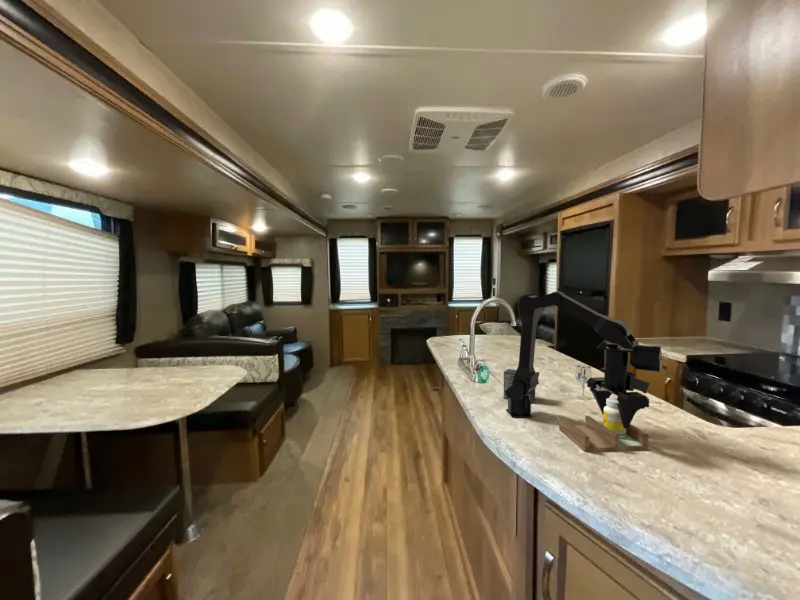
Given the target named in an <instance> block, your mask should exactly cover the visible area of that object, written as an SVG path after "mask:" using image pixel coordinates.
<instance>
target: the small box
mask: <svg viewBox="0 0 800 600" xmlns="http://www.w3.org/2000/svg"><path fill="white" fill-rule="evenodd" d="M516 370H517V369H512V368H507V369H506V370H504V371H503V398H502V399H503V400H507V401H508V398H507V397H506V394H505V391H506V390H507V389H508V388H509V387H511V386H512V381H513V378H514V374H515V372H516ZM528 396H529V397H530V399H529V400H530V401H531V404H533V402H534V401H535V400H536V388H535V389H534V390H532V391H531V394H529V395H528Z"/></svg>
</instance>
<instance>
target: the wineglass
mask: <svg viewBox="0 0 800 600" xmlns="http://www.w3.org/2000/svg"><path fill="white" fill-rule="evenodd" d="M574 378H575V380H576V382H578V383H580V384H581V389H582V394H581V395H578V396H576V399H578V400H582V401H588V400H589V401H590V399H591V398H590V397H588V396H585V388H586V387H585V386H586V385H585V384H587V380H588V379H589V378H593V372H592V368H591V366H589V365H585V364H584V365H583V364H581V365H577V366H576V368H575V371H574Z"/></svg>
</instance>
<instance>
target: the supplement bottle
mask: <svg viewBox="0 0 800 600" xmlns="http://www.w3.org/2000/svg"><path fill="white" fill-rule="evenodd" d="M606 404H607V406H605V407H604V415H603V425H604V426H605V427H606V428H608V429H609V430H611V431H612V432H614V433H615V434H617V435H618V436H619V438H623V437H625V436H626V428H624V427H623V425H622V421H621V417H620V414H619V410H618V406H617V404H619V402H618V400H617V397H609V398H607V399H606Z"/></svg>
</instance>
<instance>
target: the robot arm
mask: <svg viewBox="0 0 800 600" xmlns="http://www.w3.org/2000/svg"><path fill="white" fill-rule="evenodd" d="M552 306H556V307H558V308H559V309H561V310H562V311H564V312H567V313H568V314H569V315H571V316H573V317H574V318H577V319H579V320H580V321H582V322H584V323H585V324H587V325H588V326H590V327H591V328H592V329H594V331H595V332H597V334H598V335H600V337H602V338H603V339H604V340H603V341H602V342H601V343H600V344H599V345H597V346H596V349H597V350H604V367H601V368H600V372H601V373H603V376H601V377H599V376H597V377H596V376H595V377H593V376H592V378H589V379H588V380H587V383H586V384H587V385H586V387H587V388H589V392H591V394H592V396H593V397H594V399H595V401H596V403H597V406H598V408H599V409H600V412H601V414H602V416H604V407H605V406H607V404H606V399H607V398H611V396H612V394H613V395H615V396H617V397H616V398H617V400H618V402H619V404H617V406H618V410H619V414H620V417H621V421H622V425H623V427H624V428H628V427H629V425H630V424H631V423H632V420H633V419H634V416H635V415H636V413H637V412H638V411H640V410H642V409H643V410H644V409H645V408H649V407H650V398H649V397H648V396H647V395H646V394H647V393H648V390H649V387H650V384H651V382H648V381H646V380H643V379H640V378H638V377H636V374H635V373H634V372H633V371H630V370H629V365H630V366H631V367H634V369H635V370H640V371H647V372H655V373H662V369H663V363H664V362H663V361H664V357H663V353H662V346H661V345H645V344H640V343H639V342H638V340H637V339H636V337H635V336H634V335H633V334H632V330H631V327H630V325H629V324H628V323H626V321H624V320H620V319H618V318H614V317H611V316H608V315H604V314H601V313H599V312H598V311H595V310H593V309H592V308H590V307H588V306H587V305H584V304H582V303H581V302H579V301H578V300H577V299H574V298H572V297H570V296H568V295H566V293H564V292H563V291H552V292H551V293H548V294H543V295H528V296H523V297H522V298H520V299H519V300H518V303H517V307H518V308H517V309H518V317H519V319H520V321H521V330H520V344H519V356H518V357H519V358H518V365H517V368H516V369H515V370H516V372H515V374H514V378H513V381H512V386H511V387H509V388H508V389H507V390H506V391H505V394H506V397H507V398H508V400H507V408H505V411H506V412H507V413H508V414H509V416H510V417H511V418H532V414H531V413H532V403H531V401H530V400H529V399H530V397H529V396H528V395H529V394H531V391H532V390H534V389H535V390H536V388H537V385H539V384H540V381H539V377H540V372H539V371H538V372H537V371H536V370H535V367H534V362H535V353H536V351H535V350H536V349H535V348H536V338H537V327H538V322H539V321H540V318H541V317H542V314H543V309H544V308H548V307H552ZM629 353H630V354H629ZM629 355H630V356H629ZM629 363H630V364H629ZM639 391H640V392H639ZM641 392H642V393H643V394H642V393H641ZM644 394H645V395H644Z"/></svg>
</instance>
